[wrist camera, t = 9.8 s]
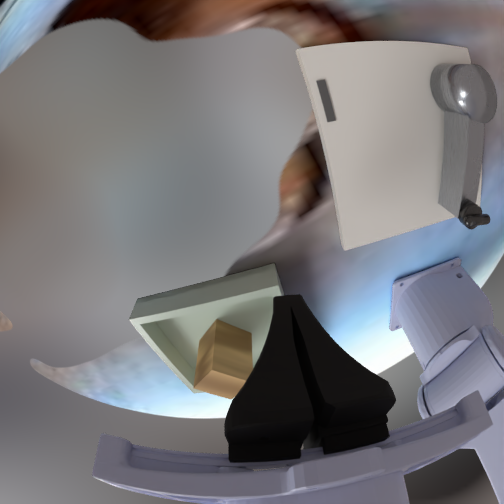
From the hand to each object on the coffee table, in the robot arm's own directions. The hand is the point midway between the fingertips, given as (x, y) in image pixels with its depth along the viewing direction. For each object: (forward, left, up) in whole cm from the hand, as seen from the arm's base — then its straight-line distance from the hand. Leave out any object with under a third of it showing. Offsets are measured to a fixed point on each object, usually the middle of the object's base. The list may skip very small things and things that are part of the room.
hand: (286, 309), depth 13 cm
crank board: (-13, -4, -9) cm, 17 cm away
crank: (-17, -4, -8) cm, 19 cm away
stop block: (+8, +10, -9) cm, 16 cm away
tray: (+8, +11, -9) cm, 16 cm away
